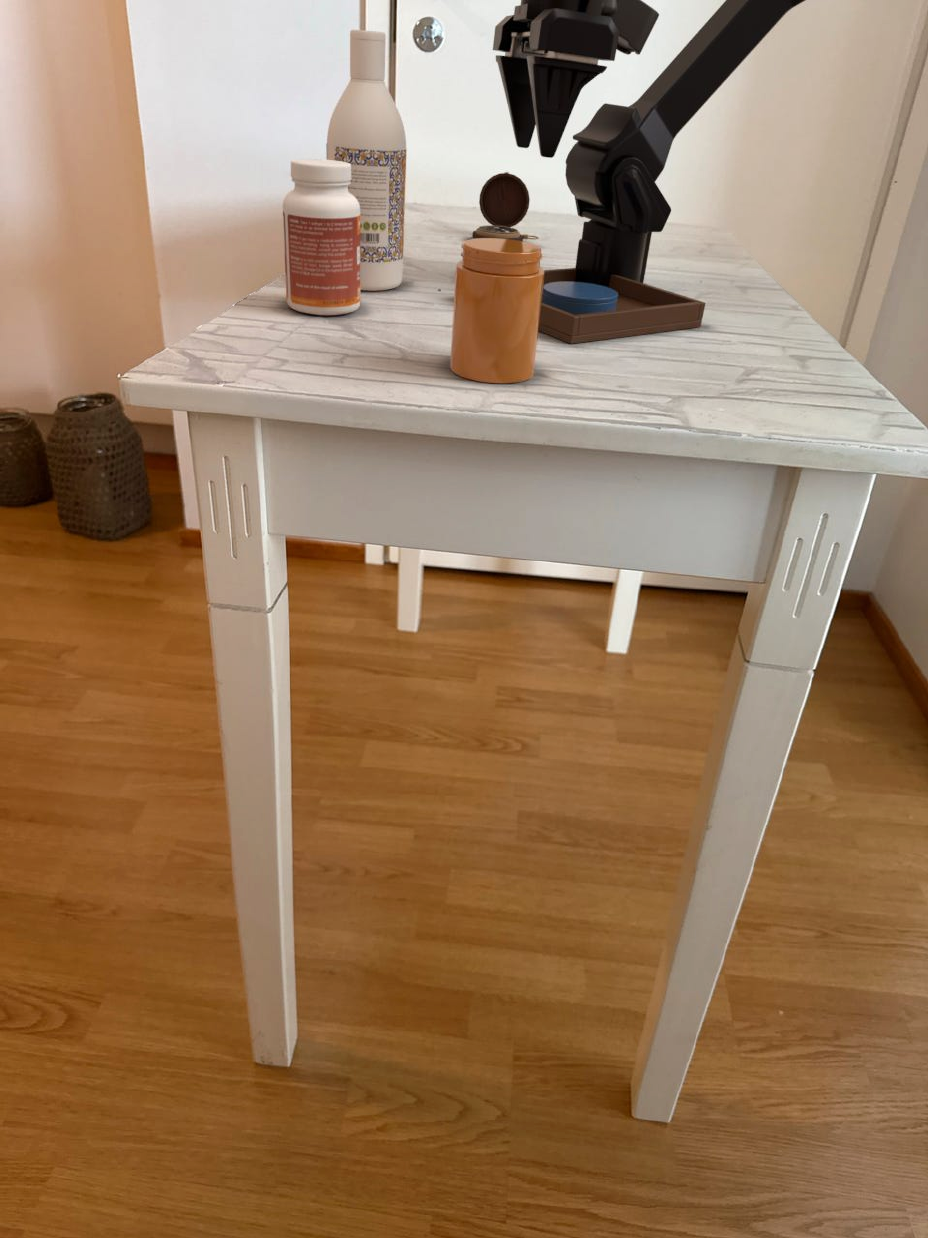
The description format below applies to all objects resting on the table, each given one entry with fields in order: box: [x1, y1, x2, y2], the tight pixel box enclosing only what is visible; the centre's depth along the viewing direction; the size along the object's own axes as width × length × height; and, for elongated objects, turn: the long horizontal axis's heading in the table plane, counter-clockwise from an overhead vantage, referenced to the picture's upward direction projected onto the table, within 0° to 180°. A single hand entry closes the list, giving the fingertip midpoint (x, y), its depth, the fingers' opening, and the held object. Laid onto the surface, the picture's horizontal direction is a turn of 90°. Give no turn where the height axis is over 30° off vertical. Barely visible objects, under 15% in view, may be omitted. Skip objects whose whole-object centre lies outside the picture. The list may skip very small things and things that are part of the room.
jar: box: [449, 238, 545, 384], centre depth 62 cm, size 6×6×8 cm
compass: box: [471, 171, 539, 242], centre depth 107 cm, size 8×8×7 cm
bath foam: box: [325, 29, 408, 292], centre depth 79 cm, size 7×7×20 cm
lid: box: [542, 282, 618, 315], centre depth 78 cm, size 7×6×2 cm
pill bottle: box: [282, 158, 361, 316], centre depth 73 cm, size 6×6×11 cm
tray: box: [538, 267, 706, 345], centre depth 80 cm, size 15×15×2 cm
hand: (534, 151), depth 79 cm, fingers open, 9 cm apart
